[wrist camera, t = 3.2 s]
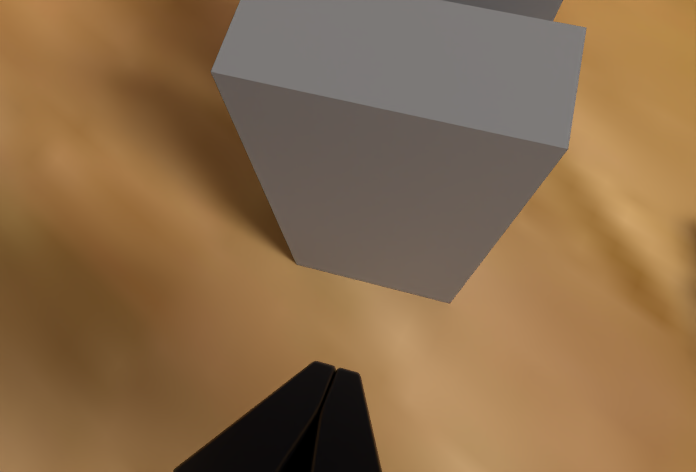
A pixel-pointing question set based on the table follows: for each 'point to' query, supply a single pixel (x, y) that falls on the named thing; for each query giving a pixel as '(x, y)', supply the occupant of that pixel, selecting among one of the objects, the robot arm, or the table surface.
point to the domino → (398, 128)
